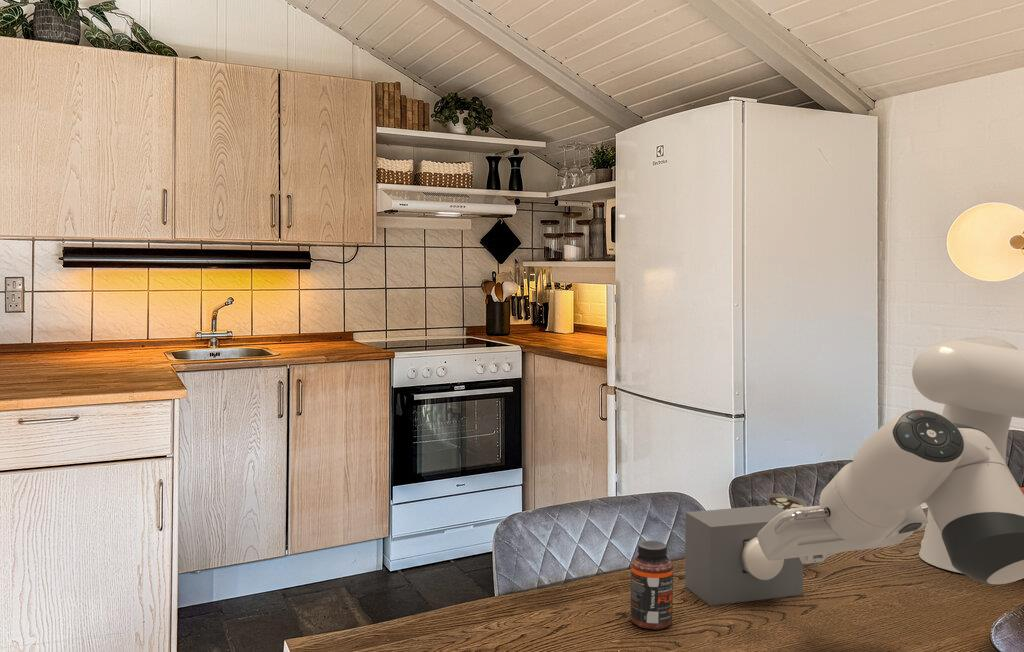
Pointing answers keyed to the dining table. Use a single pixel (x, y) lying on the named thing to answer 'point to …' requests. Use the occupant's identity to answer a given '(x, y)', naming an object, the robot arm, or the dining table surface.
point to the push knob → (759, 561)
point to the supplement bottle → (651, 586)
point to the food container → (785, 501)
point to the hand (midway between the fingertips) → (809, 558)
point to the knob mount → (732, 557)
